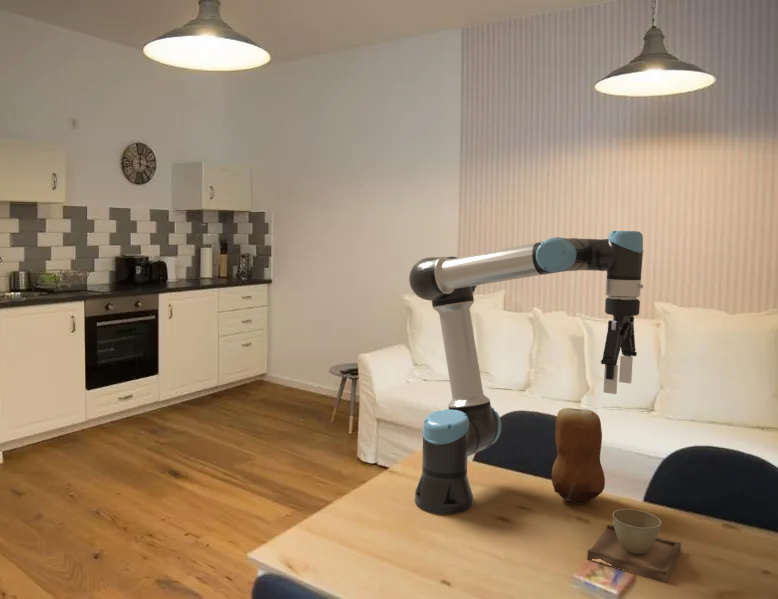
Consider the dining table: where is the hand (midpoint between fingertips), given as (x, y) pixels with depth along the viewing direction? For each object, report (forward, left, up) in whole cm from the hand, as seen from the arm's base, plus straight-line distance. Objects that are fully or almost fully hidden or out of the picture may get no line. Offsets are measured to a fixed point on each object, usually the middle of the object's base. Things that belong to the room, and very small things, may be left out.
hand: (617, 387), depth 152 cm
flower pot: (+8, -10, -33) cm, 36 cm away
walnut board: (+8, -10, -35) cm, 37 cm away
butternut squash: (-12, +12, -35) cm, 39 cm away
